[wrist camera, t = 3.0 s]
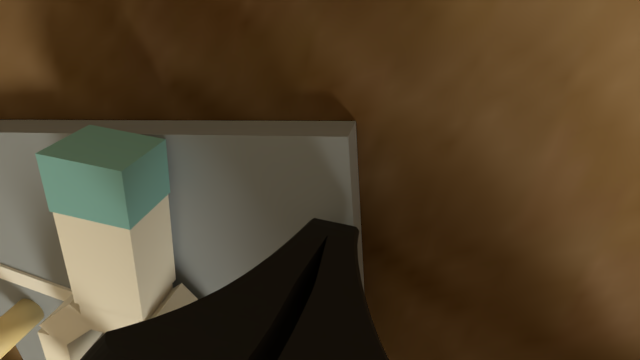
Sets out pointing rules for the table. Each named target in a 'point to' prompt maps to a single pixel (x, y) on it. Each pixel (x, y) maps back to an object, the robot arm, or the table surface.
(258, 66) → the table surface
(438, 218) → the table surface
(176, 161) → the post board
